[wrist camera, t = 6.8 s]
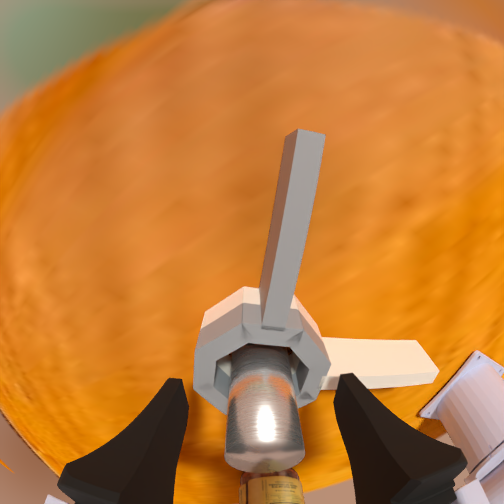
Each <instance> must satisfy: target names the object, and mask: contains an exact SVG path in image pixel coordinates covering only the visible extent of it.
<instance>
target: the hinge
mask: <svg viewBox="0 0 504 504" xmlns="http://www.w3.org/2000/svg"><path fill="white" fill-rule="evenodd" d="M324 142H325V134H320V133H316V132H312V131H307V130H302V129H297V130H295V131H294V132H292V133H290V134H289V135H287V136H286V138H285V144H284V150H283V156H282V162H281V168H280V174H279V180H278V185H277V191H276V197H275V203H274V209H273V214H272V220H271V226H270V231H269V237H268V243H267V248H266V254H265V259H264V265H263V270H262V276H261V281H260V287H259V288H251V287H242V288H241V289H239V290H237V291H236V292H234V293H233V294H231V295H230V296H228V297H227V298H225V299H224V300H222V301H221V302H219V303H218V304H216V305H215V306H213V307H212V308H210V309H209V310H207V311H206V312H205V315H204V318H203V322H202V326H201V330H200V333H199V337H198V341H197V345H196V349H195V359H194V381H193V389H194V390H195V391H196V392H197V393H198V394H200V395H201V396H202V397H203V398H205V399H206V400H207V401H208V402H210V403H211V404H212V405H213V406H215V407H216V408H217V409H219V410H220V411H221V412H223V413H224V414H225V415H227V412H228V398H229V385H230V372H231V359H232V358H231V357H230V356H229V355H228V354H229V353H231V352H233V351H235V350H237V349H238V348H240V347H242V346H244V345H245V344H247V343H254V344H264V345H273V346H284V347H290V348H291V349H292V350H293V351H292V354H290V355H288V357H289V362H290V368H291V373H292V379H293V384H294V390H295V396H296V401H297V407H298V408H300V407H302V406H305V405H307V404H309V403H311V402H313V401H315V400H316V398H317V396H318V394H319V392H320V390H337V386H338V382H339V377H340V374H346V373H354V374H355V376H356V377H357V378H358V379H359V380H360V381H361V382H362V383H363V384H364V385H365V387H366V388H367V389H375V388H390V387H401V386H411V385H420V384H428V383H432V382H433V381H434V379H435V377H436V376H437V374H438V372H439V370H438V368H437V367H436V366H435V364H434V363H433V362H432V360H431V359H430V358H429V356H428V355H427V354H426V352H425V351H424V350H423V348H422V347H421V346H420V345H419V343H418V342H417V341H416V340H369V339H345V338H328V337H321V334H320V332H319V329H318V326H317V324H316V323H315V322H314V320H313V319H312V318H311V316H310V315H309V314H308V312H307V311H306V310H305V308H304V307H303V306H302V304H301V303H300V302H299V300H298V299H297V298H296V296H295V295H294V290H295V286H296V282H297V278H298V273H299V269H300V265H301V260H302V256H303V251H304V247H305V242H306V237H307V233H308V228H309V223H310V218H311V213H312V208H313V203H314V198H315V192H316V187H317V182H318V176H319V171H320V165H321V159H322V154H323V148H324Z"/></svg>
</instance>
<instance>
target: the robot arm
mask: <svg viewBox="0 0 504 504" xmlns="http://www.w3.org/2000/svg"><path fill="white" fill-rule="evenodd" d="M503 373H504V367H502V366H501V365H499V364H498V363H496V362H495V361H493V360H492V359H490V358H489V357H487V356H486V355H484V354H483V353H481V352H480V351H478V350H476V351H475V352H474V353H473V354H472V355H471V356H470V357H469V359H468V360H467V361H466V362H465V364H464V365H463V366H462V367H461V369H460V370H459V371H458V372H457V373H456V374H455V376H454V377H453V378H452V379H451V380H450V381H449V382H448V383H447V385H446V386H445V387H444V388H443V389H442V390H441V391H440V392H439V393H438V394H437V395H436V396H435V397H434V398H433V399H432V400H431V401H430V402H429V403H428V404H427V405H426V406H425V407H424V408H423V409H422V410H421V411H420V413H419V415H420V416H421V417H425V418H431V419H438V420H440V421H441V422H442V424H443V426H444V427H445V429H446V431H447V433H448V435H449V436H450V438H451V440H452V442H453V443H454V445H455V447H454V446H451V445H448V444H445V443H442V442H440V441H437V440H435V439H433V438H431V437H429V436H427V435H425V434H423V433H421V432H419V431H418V430H416V429H414V428H413V427H411V426H409V425H408V424H407V423H405V422H404V421H402V420H401V419H400V418H398V417H397V416H396V415H395V414H393V413H392V412H391V411H390V410H389V409H388V408H386V407H385V406H384V405H383V404H382V403H381V402H380V401H379V400H378V399H377V398H376V397H375V396H374V395H373V394H372V393H371V392H370V391H369V390H368V389H367V388H366V387H365V385H364V384H363V383H362V382H361V381H360V380H359V379H358V378H357V377H356V376H355V374H354V373H346V374H340V377H339V382H338V386H337V390H336V394H335V398H334V402H333V403H334V409H335V414H336V419H337V423H338V426H339V429H340V432H341V435H342V438H343V441H344V444H345V447H346V450H347V453H348V457H349V460H350V465H351V470H352V476H353V482H354V489H355V496H356V504H504V380H503V378H502V377H501V376H502V374H503ZM188 410H189V405H188V402H187V398H186V394H185V390H184V386H183V382H182V379H176V378H169V379H167V381H166V382H165V383H164V385H163V386H162V387H161V389H160V390H159V391H158V393H157V394H156V395H155V397H154V398H153V399H152V400H151V401H150V403H149V404H148V405H147V406H146V407H145V409H144V410H143V411H142V412H141V413H140V414H139V415H138V416H137V417H136V418H135V419H134V420H133V421H132V422H131V423H130V424H129V425H128V426H127V427H126V428H125V429H124V430H123V431H122V432H120V433H119V434H118V435H117V436H115V437H114V438H113V439H111V440H110V441H109V442H107V443H106V444H104V445H103V446H101V447H100V448H98V449H96V450H95V451H93V452H91V453H89V454H88V455H86V456H84V457H81V458H79V459H77V460H75V461H72V462H70V463H67V464H66V466H65V467H64V469H63V471H62V474H61V476H60V479H59V481H58V484H57V486H58V487H59V489H60V490H61V491H62V492H64V493H65V494H66V495H67V496H69V497H70V498H71V499H72V500H74V501H75V504H173V496H174V484H175V475H176V467H177V462H178V458H179V454H180V450H181V446H182V442H183V438H184V434H185V430H186V426H187V419H188ZM465 468H467V470H468V472H469V474H470V475H469V476H468V477H467V478H466V479H464V481H465V483H466V484H465V485H464V486H462V487H461V488H459V489H457V490H456V491H454V490H453V487H454V486H455V482H454V480H453V479H454V478H455V477H456V476H458V475H459V474H460V473H461V472H462V471H463V470H464V469H465ZM44 504H69V503H67V502H65V501H63V500H60V499H58V498H56V497H54V496H52V495H50V494H49V495H48V496H47V498H46V501H45V503H44Z"/></svg>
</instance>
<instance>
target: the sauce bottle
mask: <svg viewBox="0 0 504 504" xmlns="http://www.w3.org/2000/svg"><path fill="white" fill-rule="evenodd" d="M240 485H241V487H240V488H239V504H305V502H304V496H303V490H302V484H301V482H300V481H299V476H298V474H297V472H295V471H294V470H293V469H291V468H289V469H286V470H283V471H278V472H273V473H250V472H245V473H243V475H242V476H241V481H240Z"/></svg>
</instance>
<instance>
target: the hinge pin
mask: <svg viewBox="0 0 504 504" xmlns="http://www.w3.org/2000/svg"><path fill="white" fill-rule="evenodd" d="M304 456H305V448H304V442H303V436H302V430H301V425H300V419H299V413H298V407H297V401H296V396H295V390H294V384H293V379H292V373H291V368H290V362H289V357H288V351H287V347H284V346H273V345H264V344H254V343H247V344H245V345H244V346H242V347H240V348H238V349H237V350H235V351H233V352H232V359H231V372H230V385H229V398H228V412H227V426H226V440H225V455H224V457H225V461H226V462H227V463H228V464H229V465H230V466H232V467H233V468H235V469H238V470H241V471H245V472H250V473H273V472H278V471H283V470H286V469H289V468H291V467H293V466H295V465H297V464H298V463H300V462H301V461H302V460H303V458H304Z"/></svg>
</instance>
